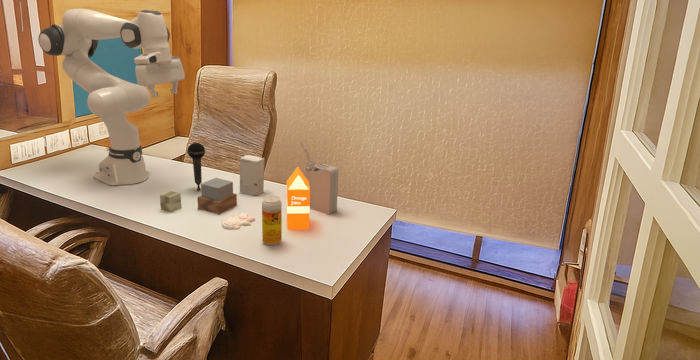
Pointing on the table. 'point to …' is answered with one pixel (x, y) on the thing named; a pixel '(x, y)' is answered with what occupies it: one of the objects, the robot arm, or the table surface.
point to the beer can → (271, 220)
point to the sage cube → (170, 201)
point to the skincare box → (251, 175)
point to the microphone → (196, 161)
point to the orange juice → (298, 201)
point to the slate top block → (217, 189)
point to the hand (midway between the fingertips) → (165, 95)
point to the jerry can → (321, 185)
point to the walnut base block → (217, 204)
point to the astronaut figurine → (237, 221)
